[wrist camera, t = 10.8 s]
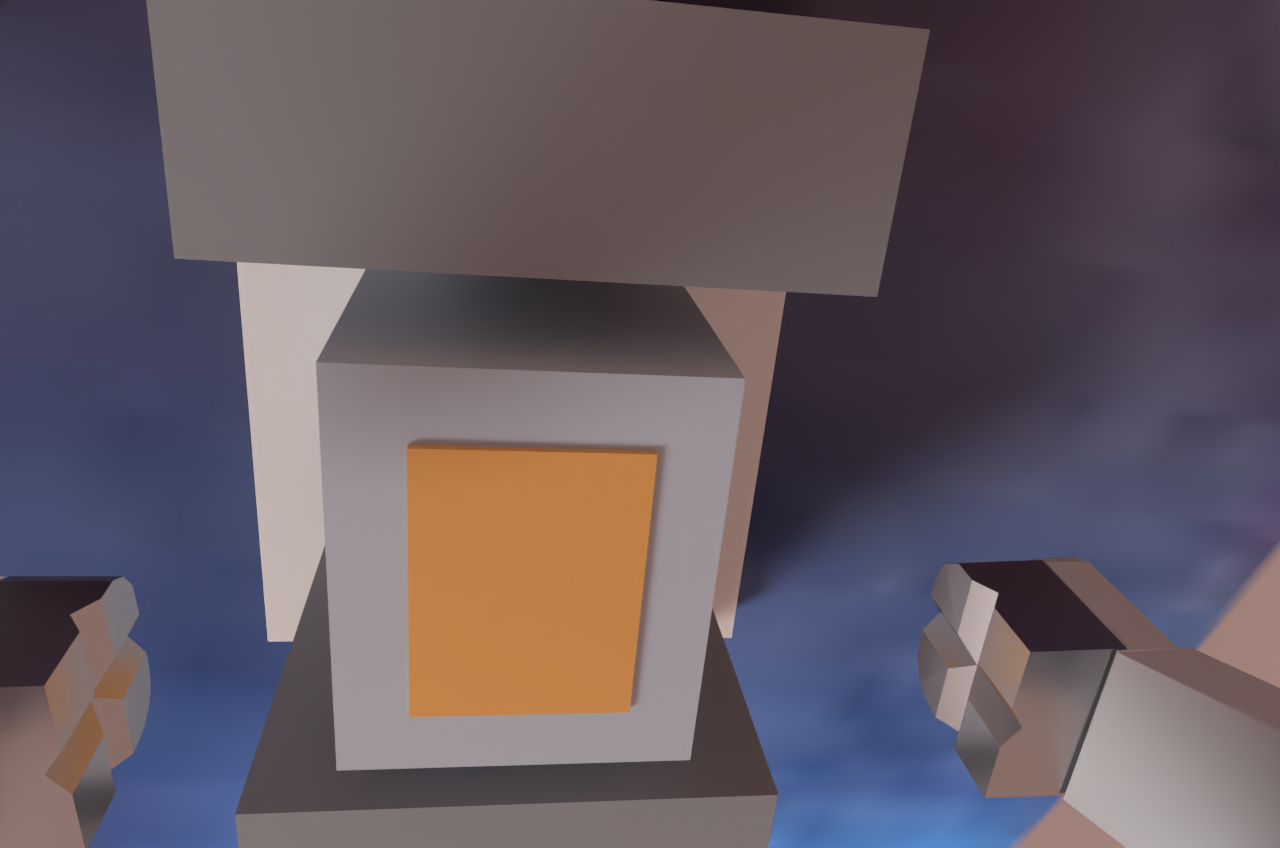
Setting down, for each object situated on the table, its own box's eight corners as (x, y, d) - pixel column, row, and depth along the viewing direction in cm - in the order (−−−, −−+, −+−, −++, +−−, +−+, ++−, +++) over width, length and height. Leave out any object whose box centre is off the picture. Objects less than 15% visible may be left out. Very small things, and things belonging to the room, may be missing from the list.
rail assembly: (228, -31, 17) (-35, -72, 9) (811, 29, 18) (1056, 43, 10) (277, 615, 22) (146, 966, 14) (722, 614, 24) (836, 924, 16)
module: (392, 218, 18) (314, 365, 10) (650, 235, 18) (748, 382, 11) (396, 496, 20) (335, 776, 13) (624, 499, 21) (691, 765, 13)
